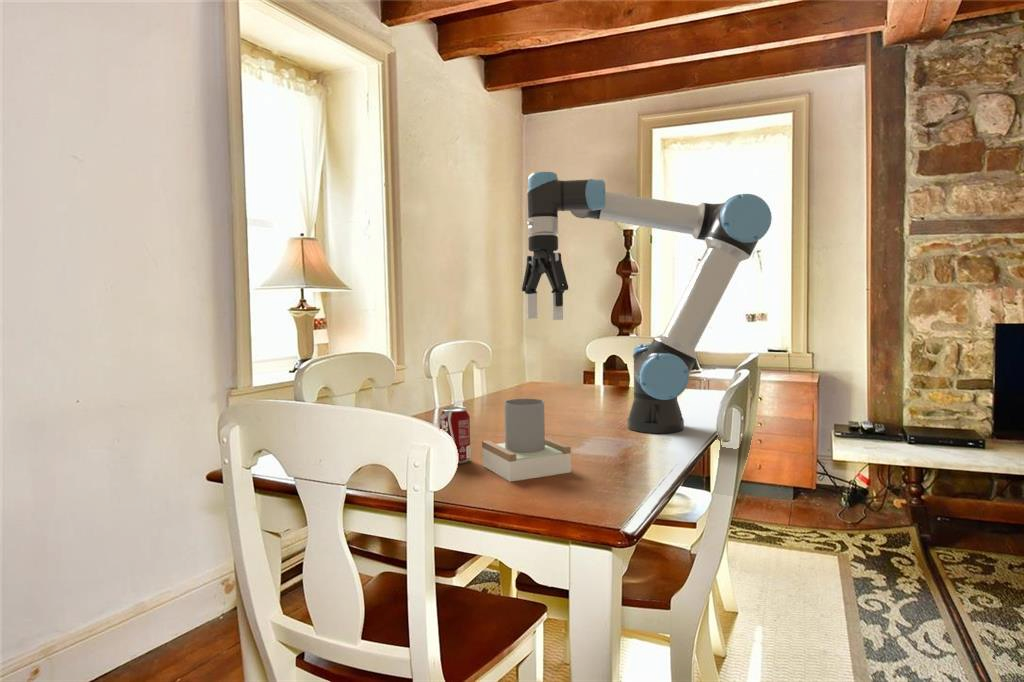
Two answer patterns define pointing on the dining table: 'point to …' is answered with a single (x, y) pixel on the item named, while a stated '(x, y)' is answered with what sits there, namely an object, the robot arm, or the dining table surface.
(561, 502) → the dining table surface
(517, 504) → the dining table surface
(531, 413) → the cup
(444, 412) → the soda can
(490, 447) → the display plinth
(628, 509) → the dining table surface
